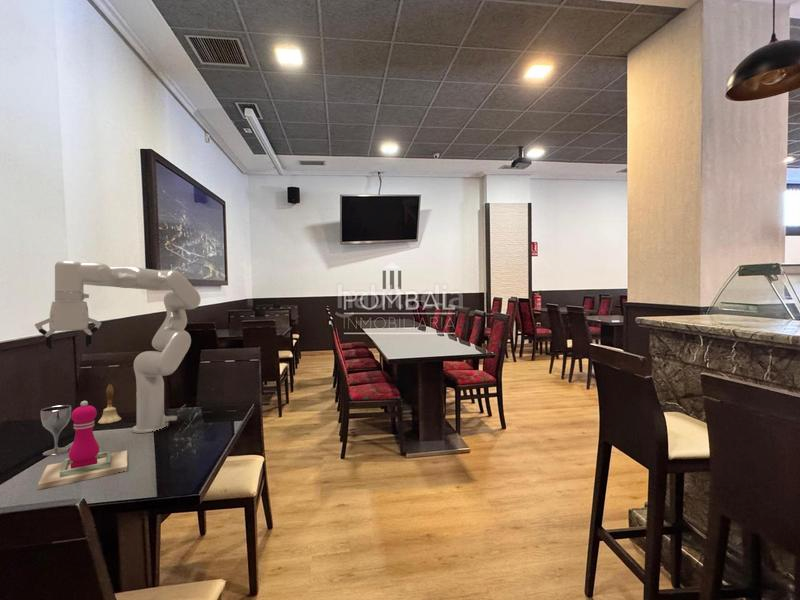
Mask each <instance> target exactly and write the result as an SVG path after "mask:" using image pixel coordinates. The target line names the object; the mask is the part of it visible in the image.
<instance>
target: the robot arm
mask: <svg viewBox="0 0 800 600" xmlns="http://www.w3.org/2000/svg"><path fill="white" fill-rule="evenodd" d="M85 285H86V286H95V287H97V286H98V287H114V288H120V289H121V288H122V289H137V290H149V291H162V292H163V291H168V292H166V293H165V295H164V297H163V304H164V308H165V310H166V316H165V318H164V321H163V323H162V324H161V326H160V327H159V328H158V329H157V331H156V333H155V335H154V336H153V338H152V340H151V346H152V347H153V349H155V350H148V351H143V352H141V353H139V354H138V355H137V356H136V357H135V359H134V361H133V371H134V375H135V381H136V382H135V383H136V385H135V386H136V394H135V395H136V425H133V427H131V432H133V433H136V434H144V433H152V431H153V432H157V431H156V430H158V431H160V430H159V429H161V430H163V429H162V428H164V427H166V426H167V427H169V422H175V421H177V420H178V416H177V415H165V414H166V413H165V381H164V378H163V377H166V376H169V375H172V374H173V373H175V371H176V370H177V369H178V367H179V366H180V364H181V363H182V361H183V360H184V358H185V356H186V354H187V353H188V351H189V349H190V347H191V344H192V338H191V334H190V333H189V332H188V331H186V330H185V328H186V327H187V324H188V318H187V317H188V316H187V313H186V310H193V309H194V310H195V309H197V308H198V307H199V306H200V304H201V295H200V293H199V292H198V291H197V289H196V288H195V287H194V286H193V285H192V283H191V282H190V281H189V280H188V279H187V277H186V276H184V275H183V274H182V273H181V272H180V271H178V270H176V269H167V270H166V269H165V270H159V269H151V268H150V269H149V268H143V267H136V266H120V267H119V266H118V267H113V266H112V267H111V266H109V265H107V264H105V263H103V262H102V263H101V262H80V261H73V260H72V261H71V260H61V261H59V260H58V261H57V262H56V263H55V264H54V301H52V302H51V305H50V311H49V318H47V319H44V320H41V321H39V322H37V323H34V327H35V328H36V329H37V330H38V332H39V333H40V334H42V335H43V336H44V337H45V347H48V350H51V349H53V348H54V346H53V345H54V344H53V343H54V337H53V334H54V333H55V332H64V331H67V332H68V331H84V333H86V335H85V347H87V348H89V347H90V345H92V335H93V334H94V333H96V331H98V330H99V328H100V327H101V325H102V322H101V321H99V320H97V319H94V318H91V317H90V316H89V308H88V307H89V306H88V303H87V301H84V300H86V299H89V298H90V294H87V293H85V292H84V291H85V289H84V286H85ZM89 323H92V324H94V327H93V328H92V329H89V326H90V324H89ZM46 324H49V325H48V326H49V330H45V329H44V328H43V326H45V325H46ZM167 427H166V428H167ZM164 429H165V428H164Z"/></svg>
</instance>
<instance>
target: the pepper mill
mask: <svg viewBox="0 0 800 600" xmlns="http://www.w3.org/2000/svg"><path fill="white" fill-rule="evenodd" d="M79 404H80V406H78V407H76V408H75V409H73V411H71V416H70V420H71V421H73V422H74V423H73V427H72V428H73V429H74V430H75V431H74V432H75V435H74V439H73V442H72V444H71V446H70V447H69V448H70V449H69V450H68V459H70V460H72V461H73V462H72V463H71V469H72V468H78V467H83V466H88V465H93V464H97V458H95V457H96V455H97V454H98V453H100V446H99V444H98V442H97V439H96V438H95V436H94V426H95V420H94V419H95V418H96V417H97V414H98V412H97V409H96V408H95V406H93V405H89V402H88V401H87V400H83V401H81V402H80V403H79Z"/></svg>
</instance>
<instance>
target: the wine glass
mask: <svg viewBox="0 0 800 600" xmlns="http://www.w3.org/2000/svg"><path fill="white" fill-rule="evenodd" d="M71 415H72V405H69V404H64V405H63V404H62V405H55V406H54V405H53V406H48V407H45V408H42V409H41V410H40V420H41V424H42V427H44V429H46V430H47V431H49V432H50V433H51V434H52V436H53V439H54V447H53V448H52V449H49V450H46V451H44V452H42V454H43V455H42V456H54V455H60V454H63V453H65V452H64V451H66V452H68V451H69V450H68V448H69V447H66V448H65V447H59V435H60V433H61V432H62V430H63V429H64V428H65V427H66V426H67V425H68V424H69V422H70V421H71ZM67 450H68V451H67ZM62 452H63V453H62Z"/></svg>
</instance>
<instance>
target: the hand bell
mask: <svg viewBox="0 0 800 600" xmlns="http://www.w3.org/2000/svg"><path fill="white" fill-rule="evenodd" d="M105 391H106V392H105V393H106V398H107V401H106V402H107V407H106V408H103V410H102V411H103V412H102V415H101V418H99V420H98V422H97V424H102V425H103V424H112V423H116V422H118V421H122V418H121V417H120V415H118V413H117V408H116V407H114V406H113V397H114V393H115V392H114V386H113V384H108V385H107V388H106V390H105Z"/></svg>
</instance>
